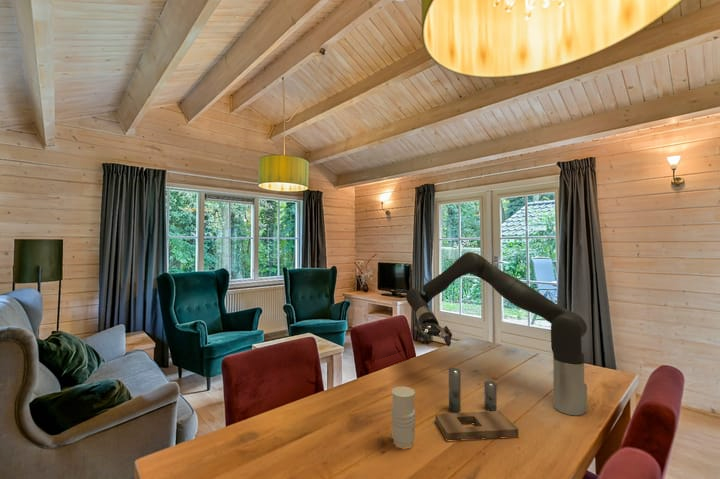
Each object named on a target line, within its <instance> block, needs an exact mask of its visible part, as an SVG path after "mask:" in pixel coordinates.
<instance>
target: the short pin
mask: <svg viewBox="0 0 720 479" xmlns="http://www.w3.org/2000/svg"><path fill="white" fill-rule="evenodd" d="M483 383H484V384H483V385H484V386H483V387H484V388H483V389H484V391H483V392H484V393H483V394H484V403H483V404H484V407H483V408H484V410H485V411H487V410H489V411H498V410H497V402H498V400H497V397H498V396H497V395H498V394H497V391H498V390H497V389H498V388H497V386H498V385H497V382H495V381H492V380H485V381H484V382H483Z"/></svg>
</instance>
